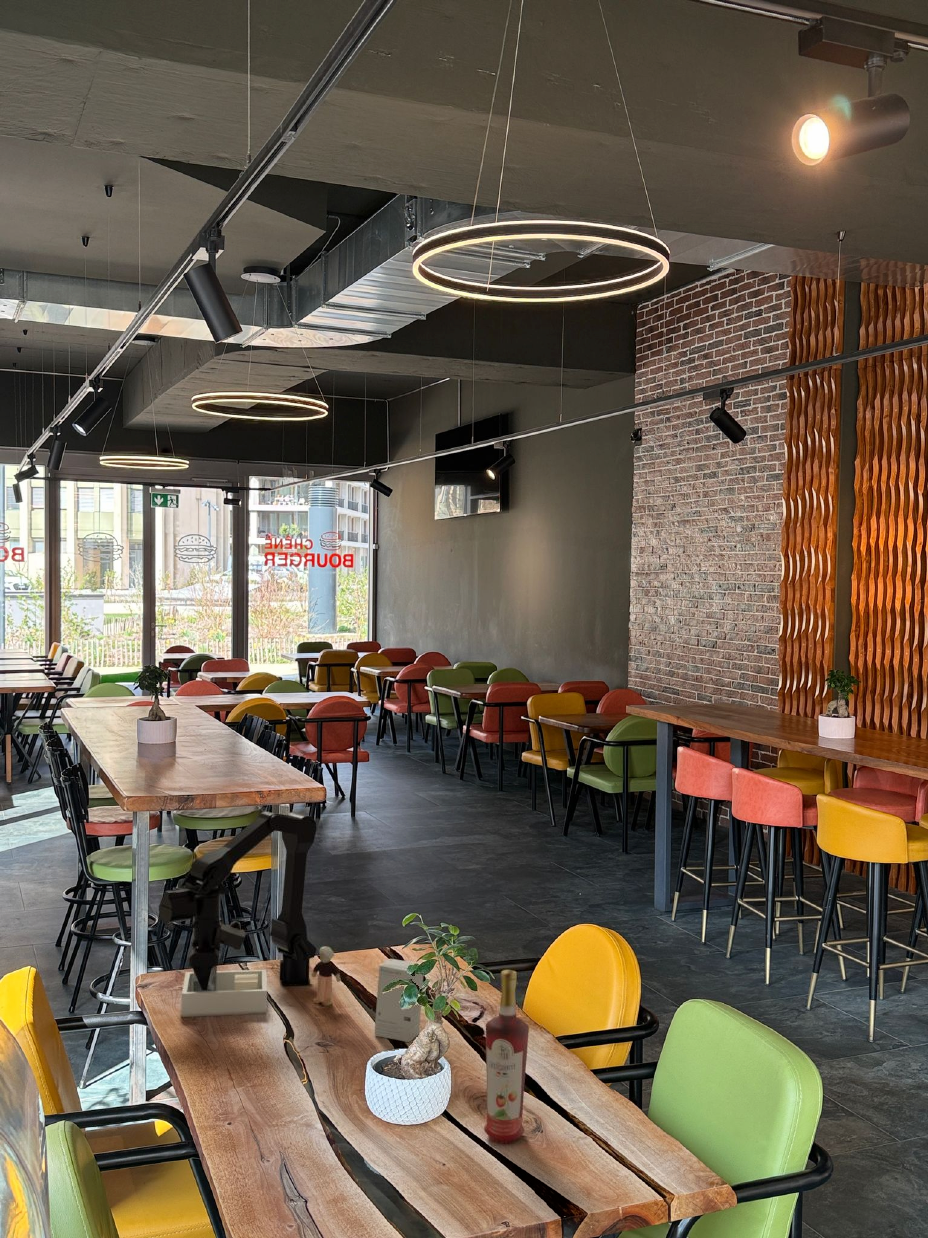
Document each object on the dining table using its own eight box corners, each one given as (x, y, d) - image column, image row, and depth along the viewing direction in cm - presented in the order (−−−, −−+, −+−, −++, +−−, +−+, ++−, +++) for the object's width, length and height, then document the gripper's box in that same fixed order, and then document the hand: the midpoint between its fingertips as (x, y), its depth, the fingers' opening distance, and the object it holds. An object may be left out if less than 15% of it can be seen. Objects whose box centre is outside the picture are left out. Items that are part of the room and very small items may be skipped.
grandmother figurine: (305, 1003, 244) (307, 947, 244) (312, 998, 248) (314, 942, 247) (337, 1008, 242) (338, 951, 242) (344, 1002, 245) (345, 946, 245)
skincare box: (374, 1037, 226) (376, 965, 226) (385, 1026, 232) (387, 957, 232) (411, 1043, 223) (413, 971, 223) (422, 1033, 229) (424, 962, 229)
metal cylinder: (193, 989, 244) (194, 958, 243) (216, 988, 244) (217, 957, 244) (192, 997, 239) (193, 965, 239) (215, 996, 240) (216, 964, 240)
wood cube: (234, 997, 245) (235, 975, 245) (256, 996, 246) (257, 974, 246) (233, 1005, 240) (234, 982, 240) (257, 1004, 241) (257, 981, 241)
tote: (265, 991, 251) (266, 969, 251) (266, 1013, 237) (266, 990, 237) (185, 994, 248) (185, 972, 248) (181, 1017, 234) (181, 994, 234)
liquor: (529, 1131, 187) (534, 968, 187) (519, 1151, 180) (524, 982, 180) (488, 1124, 189) (493, 963, 189) (477, 1143, 182) (482, 976, 182)
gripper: (243, 927, 234) (241, 999, 234) (244, 903, 252) (242, 970, 252) (189, 928, 232) (188, 1001, 232) (194, 904, 250) (192, 972, 250)
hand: (204, 985), depth 242 cm, fingers closed on metal cylinder, 5 cm apart
